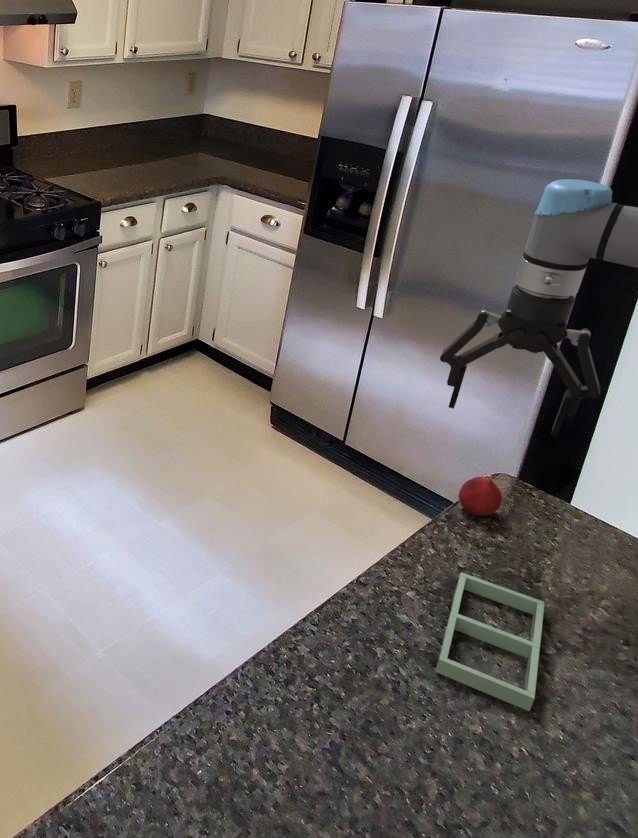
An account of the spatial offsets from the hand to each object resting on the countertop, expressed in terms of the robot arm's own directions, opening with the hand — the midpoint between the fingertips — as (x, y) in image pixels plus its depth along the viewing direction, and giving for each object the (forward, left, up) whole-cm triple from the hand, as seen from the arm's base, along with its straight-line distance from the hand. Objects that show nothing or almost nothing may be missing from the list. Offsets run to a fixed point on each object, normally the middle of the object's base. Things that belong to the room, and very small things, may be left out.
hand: (501, 418), depth 122 cm
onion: (-1, 0, -19) cm, 19 cm away
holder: (+17, +25, -19) cm, 36 cm away
